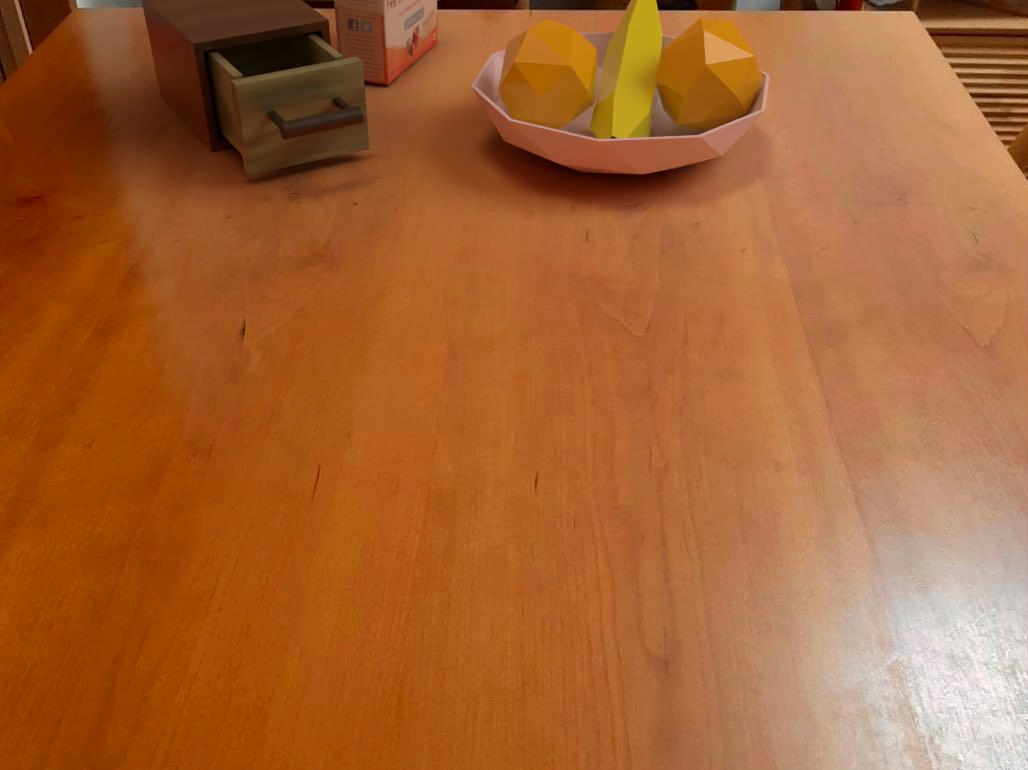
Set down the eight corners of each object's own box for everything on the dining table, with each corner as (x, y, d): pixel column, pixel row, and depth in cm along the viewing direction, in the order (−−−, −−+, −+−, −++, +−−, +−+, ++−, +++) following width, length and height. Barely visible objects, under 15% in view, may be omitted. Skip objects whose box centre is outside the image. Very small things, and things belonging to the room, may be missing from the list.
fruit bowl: (697, 234, 95) (714, 95, 87) (419, 163, 105) (412, 32, 97) (812, 117, 113) (834, -6, 105) (565, 66, 123) (569, -50, 115)
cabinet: (339, 125, 111) (329, 19, 105) (211, 152, 106) (192, 43, 100) (279, 72, 121) (266, -26, 115) (160, 95, 116) (140, -7, 110)
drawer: (391, 167, 102) (385, 77, 97) (268, 196, 98) (254, 103, 92) (307, 95, 114) (298, 12, 109) (195, 118, 110) (179, 32, 105)
